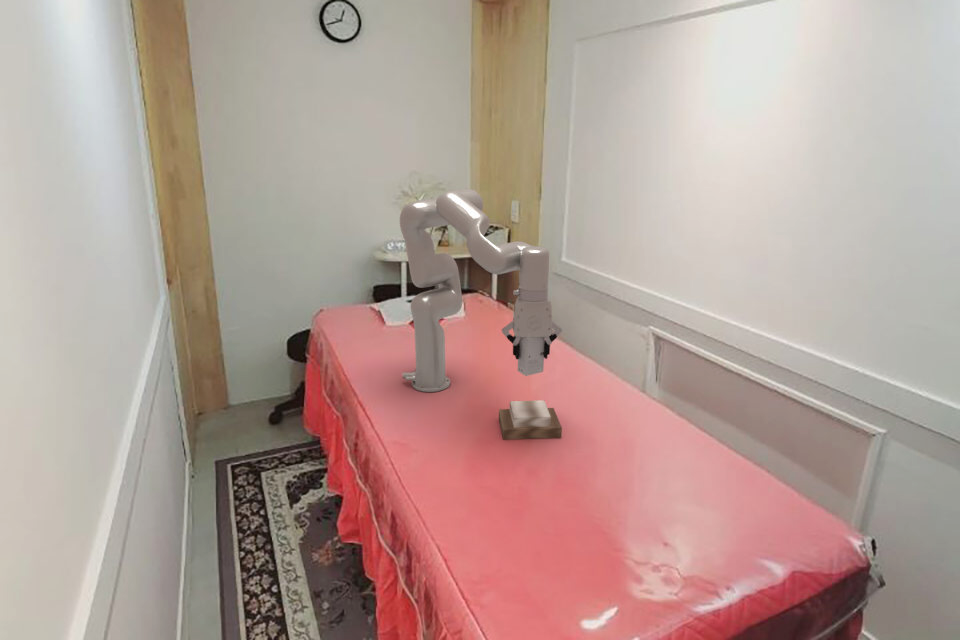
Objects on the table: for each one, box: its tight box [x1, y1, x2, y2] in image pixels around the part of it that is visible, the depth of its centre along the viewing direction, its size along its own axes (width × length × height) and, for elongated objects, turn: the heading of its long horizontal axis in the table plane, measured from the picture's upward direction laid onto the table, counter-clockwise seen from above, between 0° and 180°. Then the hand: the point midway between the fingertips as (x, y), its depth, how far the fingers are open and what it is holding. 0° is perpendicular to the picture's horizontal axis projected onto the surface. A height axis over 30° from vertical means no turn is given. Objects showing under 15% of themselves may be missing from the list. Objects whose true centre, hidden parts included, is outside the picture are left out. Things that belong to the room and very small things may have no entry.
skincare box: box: [517, 334, 545, 377], centre depth 157 cm, size 6×4×12 cm
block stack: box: [498, 399, 563, 440], centre depth 164 cm, size 16×12×6 cm
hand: (531, 356), depth 158 cm, fingers closed on skincare box, 7 cm apart
